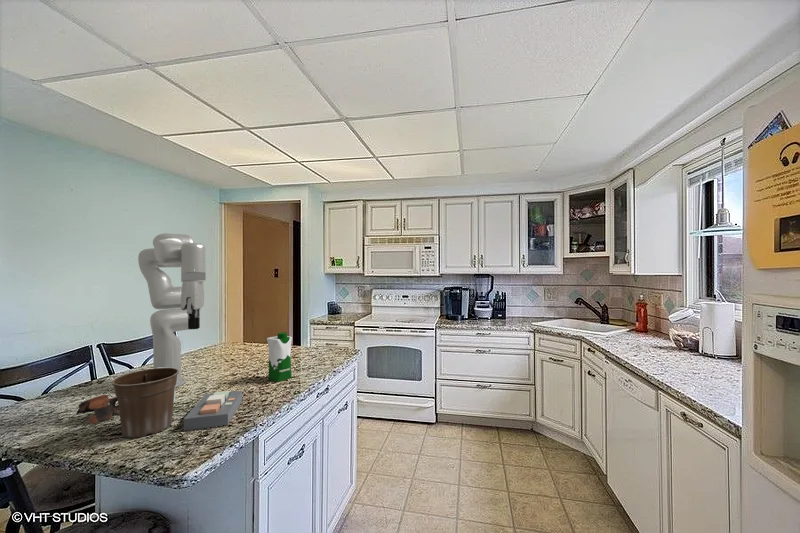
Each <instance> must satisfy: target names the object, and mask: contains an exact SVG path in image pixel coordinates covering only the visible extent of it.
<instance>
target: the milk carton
mask: <svg viewBox="0 0 800 533" xmlns="http://www.w3.org/2000/svg"><path fill="white" fill-rule="evenodd" d="M266 340H267V341H266V342H267V347H268V380H269V381H273V382H277V383H279V382H282V381H285V380H289V379H292V377H293V376H292V349H291V348H292V341H293V337H292V336H288V332H287V331H286V332H284V331H283V332H278V333H277V335H276V336H270V337H267V338H266Z"/></svg>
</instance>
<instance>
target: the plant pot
mask: <svg viewBox="0 0 800 533" xmlns="http://www.w3.org/2000/svg"><path fill="white" fill-rule="evenodd" d="M178 373H179V370H178V369H176V368H154V367H153V368H149V369H148V368H147V369H141V370H138V371H133V372H128V373H126V374H123V375H120V376H118V377H115V378H114V379H113V380H111V385H112V386H113V387H114V393H115V394H114V395H115V397H117V399H118V401H117V406H118V407H119V410H118V413H119V420H120V428H121V435H122V436H123V437H124V438H130V439H131V438H132V439H133V438H134V439H135V438H144V437H147V435H149V434H153V435H154V434H157V433H160V432H162V431H164V430H166V429H168V428H169V427H170V426H171V425H172V423H173V416H174V414H173V413H174V403H175V402H174V391H175V392H176V387H175V385H176V382H177V374H178Z"/></svg>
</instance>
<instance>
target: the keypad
mask: <svg viewBox="0 0 800 533" xmlns="http://www.w3.org/2000/svg"><path fill="white" fill-rule="evenodd" d="M214 393H215V392H214ZM214 393H205V394H204V395H203V397H201V399H199V401H198V402H197V403H196V404H195V405H194V407H192V409H191V410H190V411H189V412H188V414H187V415H186V416H185V417H184V418H183V431H194V430H201V429H211V428H210V427H212V428H217V427H216V426H220V427H224V426H223V425H228V424H229V425H230V423H231V421H232V419H233V418H234V416H235V414H236V413H237V411H238V408H239V407H240V406H241V403H242V401H243V390H235V391H234V390H233V391H229V397H228V398H227V399H225V402H224V404H223V405H222V406H220V410H219V411H218V413H212V414H203V415H200V410H201V409H202V408H203V407H204V405H206V400H207V399H208V398H209V397H210V396H212V395H214ZM232 417H233V418H232ZM229 422H230V423H229ZM229 425H228V426H229Z"/></svg>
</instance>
